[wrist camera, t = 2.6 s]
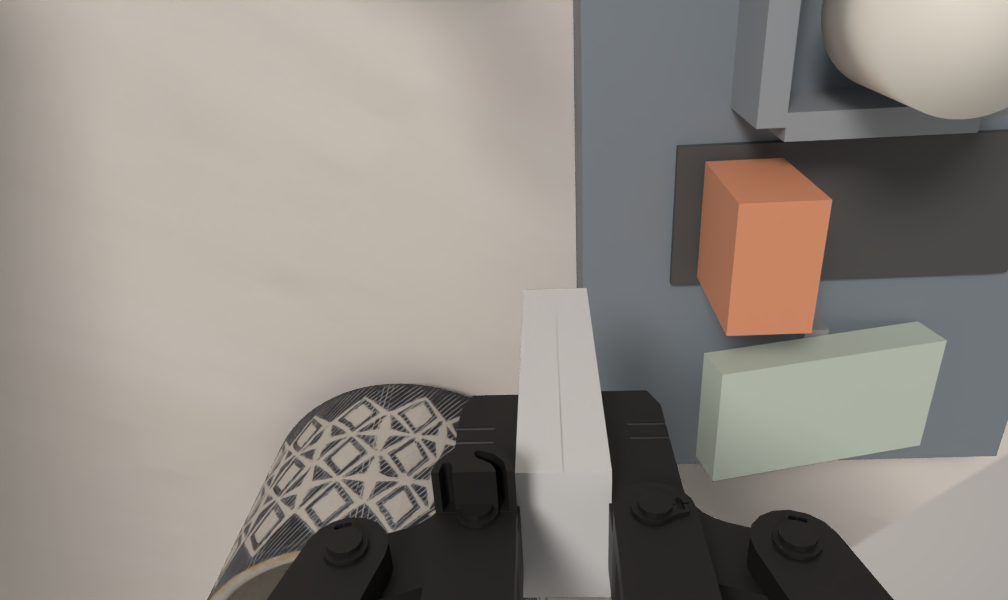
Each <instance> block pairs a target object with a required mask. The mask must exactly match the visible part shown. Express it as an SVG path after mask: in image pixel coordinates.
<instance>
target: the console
mask: <svg viewBox="0 0 1008 600" xmlns="http://www.w3.org/2000/svg"><path fill="white" fill-rule="evenodd" d="M822 4H823V0H573V19H574V100H575V181H576V263H577V288H587V295H588V302H589V309H590V316H591V323H592V331H593V338H594V345H595V352H596V359H597V367H598V374H599V381H600V388H601V391H629V390H647V391H648V392H649V393H650V394H651V395H652V396H653V397H654V398H655V399H656V400H657V401H658V402H659V403H660V404H661V407H662V411H663V415H664V419H665V425H666V426H667V430H668V434H669V439H670V441H671V445H672V449H673V453H674V456H675V460H676V464H691V463H700V462H699V460H698V459H697V457H696V447H697V435H698V422H699V410H700V397H701V385H702V373H703V360H704V353H708V352H715V351H721V350H728V349H735V348H742V347H748V346H755V345H762V344H769V343H775V342H782V341H789V340H795V339H802V338H809V337H816V336H822V335H829V334H836V333H843V332H849V331H856V330H863V329H870V328H876V327H883V326H890V325H896V324H903V323H910V322H917V321H918V322H920V323H921V324H923V325H924V326H926V327H927V328H929V329H930V330H932V331H933V332H935V333H936V334H938V335H939V336H941V337H942V338H944V339H945V340H947V342H946V346H945V350H944V354H943V358H942V361H941V365H940V369H939V373H938V377H937V381H936V385H935V389H934V393H933V396H932V400H931V404H930V408H929V412H928V416H927V420H926V424H925V428H924V432H923V435H922V439H921V443H920V445H919V446H913V447H907V448H901V449H896V450H890V451H884V452H878V453H873V454H867V455H861V456H856V457H850V458H844V459H838V460H851V459H891V458H931V457H971V456H996V455H997V452H998V449H999V445H1000V442H1001V439H1002V436H1003V433H1004V430H1005V427H1006V423H1007V420H1008V108H1005V109H1003V110H1001V111H998V112H995V113H993V114H990V115H986V116H982V117H977V118H971V119H945V118H938V117H935V116H931V115H928V114H925V113H923V112H921V111H919V110H916V109H914V108H912V107H909V106H907V105H905V104H903V103H900V102H898V101H896V100H894V99H891V98H889V97H887V96H884V95H882V94H880V93H878V92H875V91H873V90H871V89H869V88H866V87H864V86H862V85H860V84H857V83H855V82H853V81H852V80H850V79H849V78H847V77H846V76H844V75H843V74H842V73H841V72H840V71H839V70H838V69H837V68H836V66H835V65H834V64H833V62H832V61H831V59H830V57H829V55H828V54H827V51H826V49H825V46H824V43H823V38H822V33H821V9H822ZM769 158H784V159H785V160H787V161H788V162H789V163H790V164H791V165H792V166H794V167H795V168H796V169H797V170H798V171H799V172H801V173H802V174H803V175H804V176H805V177H806V178H808V179H809V180H810V181H811V182H812V183H813V184H815V185H816V186H817V187H818V188H819V189H820V190H822V191H823V192H824V193H825V194H826V195H827V196H829V197H830V198H831V199H832V206H831V212H830V218H829V225H828V231H827V237H826V244H825V250H824V257H823V263H822V269H821V276H820V282H819V288H818V295H817V301H816V307H815V314H814V320H813V327H812V333H801V334H772V335H743V336H726V334H725V332H724V330H723V328H722V326H721V324H720V322H719V320H718V318H717V316H716V314H715V312H714V310H713V308H712V306H711V304H710V302H709V300H708V298H707V296H706V294H705V292H704V290H703V288H702V286H701V284H700V282H699V280H698V278H697V271H698V257H699V243H700V229H701V215H702V201H703V187H704V173H705V161H726V160H748V159H769Z"/></svg>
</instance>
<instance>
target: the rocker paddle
mask: <svg viewBox="0 0 1008 600" xmlns="http://www.w3.org/2000/svg"><path fill="white" fill-rule="evenodd" d="M946 342H947V340H945V339H944V338H942V337H941V336H939V335H938V334H936V333H935V332H933V331H932V330H930V329H929V328H927V327H926V326H924V325H923V324H921V323H920V322H918V321H917V322H910V323H903V324H896V325H890V326H883V327H876V328H870V329H863V330H856V331H849V332H843V333H836V334H829V335H822V336H816V337H809V338H802V339H795V340H789V341H782V342H775V343H769V344H762V345H755V346H748V347H742V348H735V349H728V350H721V351H715V352H708V353H704V360H703V373H702V385H701V397H700V410H699V422H698V435H697V447H696V457H697V459H698V460H699V462H700V463H701V465H702V466H703V468H704V469H705V471H706V472H707V474H708V475H709V477H710V479H711V480H712V481H718V480H724V479H729V478H735V477H741V476H747V475H752V474H758V473H764V472H770V471H775V470H781V469H787V468H792V467H798V466H804V465H810V464H815V463H821V462H827V461H833V460H838V459H844V458H850V457H856V456H861V455H867V454H873V453H878V452H884V451H890V450H896V449H901V448H907V447H913V446H919V445H920V443H921V439H922V435H923V432H924V428H925V424H926V420H927V416H928V412H929V408H930V404H931V400H932V396H933V393H934V389H935V385H936V381H937V377H938V373H939V369H940V365H941V361H942V358H943V354H944V350H945V346H946Z"/></svg>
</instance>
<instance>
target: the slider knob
mask: <svg viewBox="0 0 1008 600" xmlns="http://www.w3.org/2000/svg"><path fill="white" fill-rule="evenodd" d="M831 206H832V199H831V198H830V197H829V196H827V195H826V194H825V193H824V192H823V191H822V190H820V189H819V188H818V187H817V186H816V185H815V184H813V183H812V182H811V181H810V180H809V179H808V178H806V177H805V176H804V175H803V174H802V173H801V172H799V171H798V170H797V169H796V168H795V167H794V166H792V165H791V164H790V163H789V162H788V161H787V160H785V159H784V158H769V159H748V160H726V161H705V173H704V187H703V201H702V215H701V229H700V243H699V257H698V271H697V278H698V280H699V282H700V284H701V286H702V288H703V290H704V292H705V294H706V296H707V298H708V300H709V302H710V304H711V306H712V308H713V310H714V312H715V314H716V316H717V318H718V320H719V322H720V324H721V326H722V328H723V330H724V332H725V334H726V336H743V335H772V334H801V333H812V327H813V320H814V314H815V307H816V301H817V295H818V288H819V282H820V276H821V269H822V263H823V257H824V250H825V244H826V237H827V231H828V225H829V218H830V212H831Z"/></svg>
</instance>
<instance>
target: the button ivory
mask: <svg viewBox="0 0 1008 600" xmlns="http://www.w3.org/2000/svg"><path fill="white" fill-rule="evenodd" d="M821 33H822V38H823V43H824V46H825V49H826V51H827V54H828V55H829V57H830V59H831V61H832V62H833V64H834V65H835V66H836V68H837V69H838V70H839V71H840V72H841V73H842V74H843V75H844V76H846V77H847V78H849V79H850V80H852V81H853V82H855V83H857V84H860V85H862V86H864V87H866V88H869V89H871V90H873V91H875V92H878V93H880V94H882V95H884V96H887V97H889V98H891V99H894V100H896V101H898V102H900V103H903V104H905V105H907V106H909V107H912V108H914V109H916V110H919V111H921V112H923V113H925V114H928V115H931V116H935V117H938V118H945V119H971V118H977V117H982V116H986V115H990V114H993V113H995V112H998V111H1001V110H1003V109H1005V108H1008V0H823V4H822V9H821Z"/></svg>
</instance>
